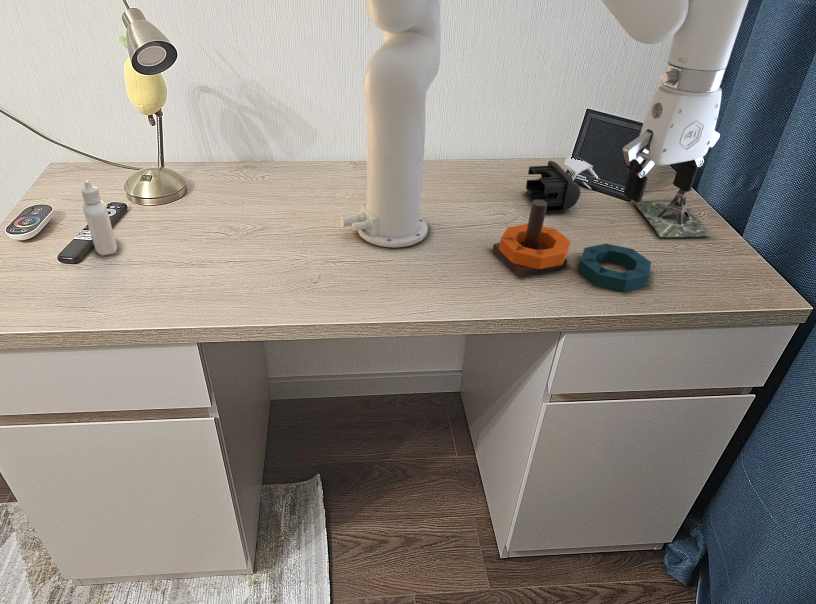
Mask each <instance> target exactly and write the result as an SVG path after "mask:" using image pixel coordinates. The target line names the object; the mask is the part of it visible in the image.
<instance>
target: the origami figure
mask: <svg viewBox="0 0 816 604" xmlns="http://www.w3.org/2000/svg"><path fill="white" fill-rule="evenodd" d="M572 154H573V153H572ZM572 154H570V155H569V156H568V157H566V158H565V160H564V162H563V166H561V168H562V169H563V170H564V169H566V170H567V171H568V170H569V171H570V174H571V175H572V177H571V178H572V179H573V180H574V181H575V179H576V177H577V176H578V175H579V174H580V173H582V172H584V171H585V170H587V171H588V172H589V173H590V174H591V175H592V176H593V175H594V176H593V177H596V179H598V180H600V177H599V176H598V174H596V172H595V171H594V169H593V168H594V165H592V164H590V163H589V162H587V161H585V160H583V161H581V160H577V159H576V160H575V159H574V158H572V159H571V157H572ZM598 177H599V178H598ZM582 184H584V185H585V186H586V187H587V188H588V189H589V190H592V189H593V188H591V186H590V185H588V183H585V182H584V181H582Z"/></svg>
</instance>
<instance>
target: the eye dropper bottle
mask: <svg viewBox="0 0 816 604" xmlns="http://www.w3.org/2000/svg"><path fill="white" fill-rule="evenodd" d="M81 195H82V198H83V201H84V203H83V206H82V209H83V210H82V211H83V214H84V217H85V220H86V223H87V227H88V230H89V234H90V238H91V240H92V243H93V246H94V250H95V252H96V253H98V255H100V256H108V255H113V254H116V252H117V250H118V244H117V241H116V237H115V233H114V229H113V226H112V222H111V218H110V215H109V211H108V209H107V206H106V203H105V202H104V201H103V200H102V199H101V196H100V193H99V189H98V187H96V186H93V184H92V183H91V181H90V180H84V187H83V188H82V189H81Z"/></svg>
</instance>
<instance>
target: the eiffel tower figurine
mask: <svg viewBox="0 0 816 604" xmlns="http://www.w3.org/2000/svg"><path fill="white" fill-rule="evenodd" d="M687 195H688V192H685V191H683V190H681V189H680V188H678V191H676V194H675V196H674V197H673V199H672V200H671V201H654V200H653V201H652V200H641V201H640V202H635V201H633V200H632V199H631V201H632V202H633V203H634V205H635V207H636V208H637V209H638V210H639V211H640V213H641V214H642V215H643V216H644V217H645V219H646V220H647V221H648V223H649V224H650V225H651V226H652V228H653V230H654V231H655V233H656V234H657V236H659V238H689V237H693V238H694V237H713V235H712V234H711V233H710V232H709V231H708V230H707V229H705V228H704V227H703V226H702V224H700V222H699V221H698V220H697V219H696V218H695V217H694V216H693V215H692V214H691V213H690V211H689V208H688V205H689V203H687ZM679 199H680V200H679Z"/></svg>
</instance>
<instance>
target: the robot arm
mask: <svg viewBox="0 0 816 604" xmlns="http://www.w3.org/2000/svg"><path fill="white" fill-rule="evenodd" d="M601 2H602V3H603V4H604V6H605V7H606V9H607V10H608V11H609V12H610V13H611V15H612V16H613V17H614V19H615V20H616V21H617V22H618V24H620V26H621V27H622V29H623V31H625V33H627V35H628V36H629V37H630V38H631V39H633V41H634V40H635V41H636V42H638V43H641V44H646V45H656V44H659V43H662V42H664V41H667V40H669V39H671V37H673V38H672V41H671V46H670V49H669V53H668V57H667V61H666V63H665V67H664V71H663V72H662V73H661V74H660V77H659V80H660V86H658V87H657V89H656V91H655V93H654V95H653V98H652V100H651V102H650V105H649V106H648V110H647V112H646V115H645V118H644V121H643V123H642V127H641V130H640V133H639V136H637V137H636V138H634V139H633V140H632V141H630V142H629V143H626V144H625V146H623V148H622V155H623V159H624V160H623V164H624V165H625V168H626V170H627V171H628V172H629V173H628V177H627V180H626V184H625V187H624V191H623V195H624V196H625V197H627V198H628V199H630V200H631V201H632V200H633V201H635V202H640V201H643V200H642V199H643V196H644V193H645V189H646V186H647V183H648V176H646V175H647V174H648V173H649V172H650V171H651V169H652V168H653V167H654V166H655V165H657V166H660V167H661V166H668V165H674V164H678V166H677V170H676V173H675V176H674V178H673V181H672V185H673V186H674V187H675V188H678V189H681V190H683V191H685V192H687V193H688V192H689V193H690V192H691V191H692V188H693V186H694V182H695V179H696V177H697V173H698V171H699V168H700V167H702V166H703V164H704V162H705V161H704V159H705V158H706V157H708V156H709V154H710V153H711V152H712V150H713V147H714V146H715V145H716V143H717V142H718V140H719V139H720V136H721V134H720V133H719V132H717V131H716V126H717V121H718V118H719V113H720V109H721V103H722V94H723V93H722V92H723V89H722V88H721V84H722V82H723V79H724V75H725V72H726V70H727V66H728V63H729V61H730V58H731V54H732V52H733V49H734V45H735V42H736V39H737V36H738V33H739V30H740V27H741V24H742V21H743V18H744V15H745V13H746V9H747V7H748V4H749V0H601ZM364 3H365V7H366V11H367V14H368V16H369V18H370V21H371V22H372V24H374V25H375V26H376V27H377V28H378V29H379V30H381V31H382V37H383V38H382V39H383V44H382V45H381V46H380V47H379V48H378V49H377V50H376V51H375V52H374V53H373V55H372V56H371V58H370V59H369V61H368V63H367V65H366V68H365V73H364V78H363V92H364V93H363V96H364V103H365V114H366V115H365V116H366V204H364V205H361V206H360V209H361V210H360V211H357V212H356V214H346V215H341V216H340V218H339V222H340V223H339V224H340V226H341V227H342V228H346V227H351V228H352V231H353V232H357V233H358V235H359V236H360V237H361V239H363V240H365V241H366V242H368V243H369V244H372V245H375V246H378V247H384V248H405V247H410V246H414V245H416V244H418V243H420V242H421V241H423V240H424V239H425V238H426V237H427V235H428V227H429V226H428V223H427V222H426V221H425V219H424V218H422V216H421V206H422V205H421V203H422V192H423V190H422V189H423V176H424V160H425V146H426V145H425V143H426V123H427V122H426V120H427V119H426V118H427V117H426V103H427V92H428V90H429V88H430V86H431V85H432V83H433V82H434V81H435V79H436V77H437V75H438V73H439V72H438V71H439V69H440V62H441V0H365V1H364ZM644 160H645V161H646V162H644V164H643V165H641V164H642V162H643V161H644ZM633 201H632V202H633Z"/></svg>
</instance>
